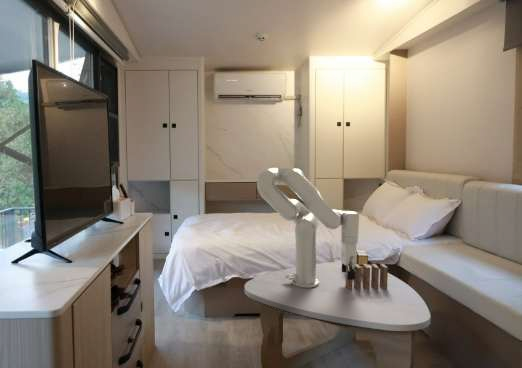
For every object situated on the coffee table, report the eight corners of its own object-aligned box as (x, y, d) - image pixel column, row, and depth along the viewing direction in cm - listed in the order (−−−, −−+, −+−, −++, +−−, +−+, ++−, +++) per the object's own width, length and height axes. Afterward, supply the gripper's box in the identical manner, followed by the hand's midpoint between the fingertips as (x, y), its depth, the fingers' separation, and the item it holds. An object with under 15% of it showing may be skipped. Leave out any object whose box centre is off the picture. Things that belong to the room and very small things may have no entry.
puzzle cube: (345, 267, 187) (345, 249, 186) (364, 268, 185) (365, 250, 184) (347, 274, 177) (347, 255, 176) (367, 275, 175) (368, 255, 174)
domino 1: (348, 289, 157) (349, 267, 156) (345, 285, 162) (346, 264, 161) (352, 289, 157) (352, 267, 156) (349, 285, 162) (349, 264, 161)
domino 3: (366, 289, 157) (366, 267, 156) (362, 285, 162) (363, 264, 161) (369, 289, 157) (370, 267, 156) (365, 285, 162) (366, 264, 161)
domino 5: (383, 289, 157) (384, 267, 156) (379, 284, 162) (380, 263, 161) (387, 289, 157) (387, 267, 156) (382, 284, 162) (383, 263, 161)
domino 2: (357, 289, 157) (357, 267, 156) (353, 285, 162) (354, 264, 161) (360, 289, 157) (361, 267, 156) (357, 285, 162) (358, 264, 161)
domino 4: (374, 289, 157) (375, 267, 156) (371, 285, 162) (371, 264, 161) (378, 289, 157) (379, 267, 156) (374, 284, 162) (375, 264, 161)
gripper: (336, 234, 166) (335, 269, 167) (346, 243, 149) (344, 282, 150) (352, 234, 166) (350, 269, 168) (363, 244, 149) (362, 282, 150)
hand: (347, 275), depth 159 cm, fingers open, 9 cm apart
